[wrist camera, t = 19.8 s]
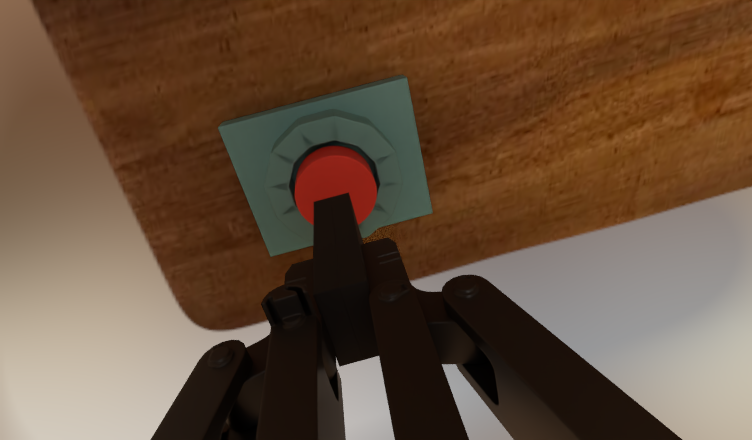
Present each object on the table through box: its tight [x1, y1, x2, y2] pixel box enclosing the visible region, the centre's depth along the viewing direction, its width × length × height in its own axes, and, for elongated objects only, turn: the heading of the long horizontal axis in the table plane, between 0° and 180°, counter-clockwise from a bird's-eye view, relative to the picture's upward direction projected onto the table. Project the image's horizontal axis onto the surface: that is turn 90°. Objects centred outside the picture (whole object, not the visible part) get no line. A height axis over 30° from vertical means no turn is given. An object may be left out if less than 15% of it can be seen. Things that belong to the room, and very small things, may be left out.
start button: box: [295, 146, 377, 225], centre depth 21 cm, size 4×4×2 cm
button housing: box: [218, 75, 433, 257], centre depth 23 cm, size 10×8×3 cm
